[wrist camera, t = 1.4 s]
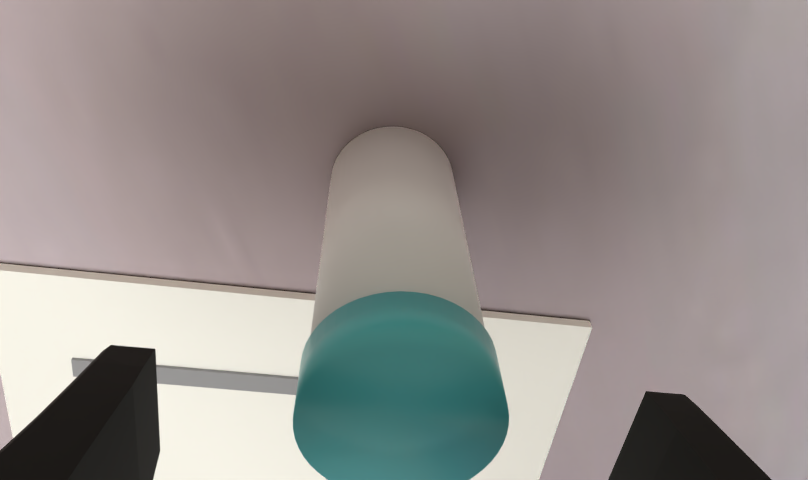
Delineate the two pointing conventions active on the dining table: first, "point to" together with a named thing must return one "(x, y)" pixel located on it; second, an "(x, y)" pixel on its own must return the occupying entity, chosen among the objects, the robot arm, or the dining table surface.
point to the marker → (397, 325)
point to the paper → (241, 367)
